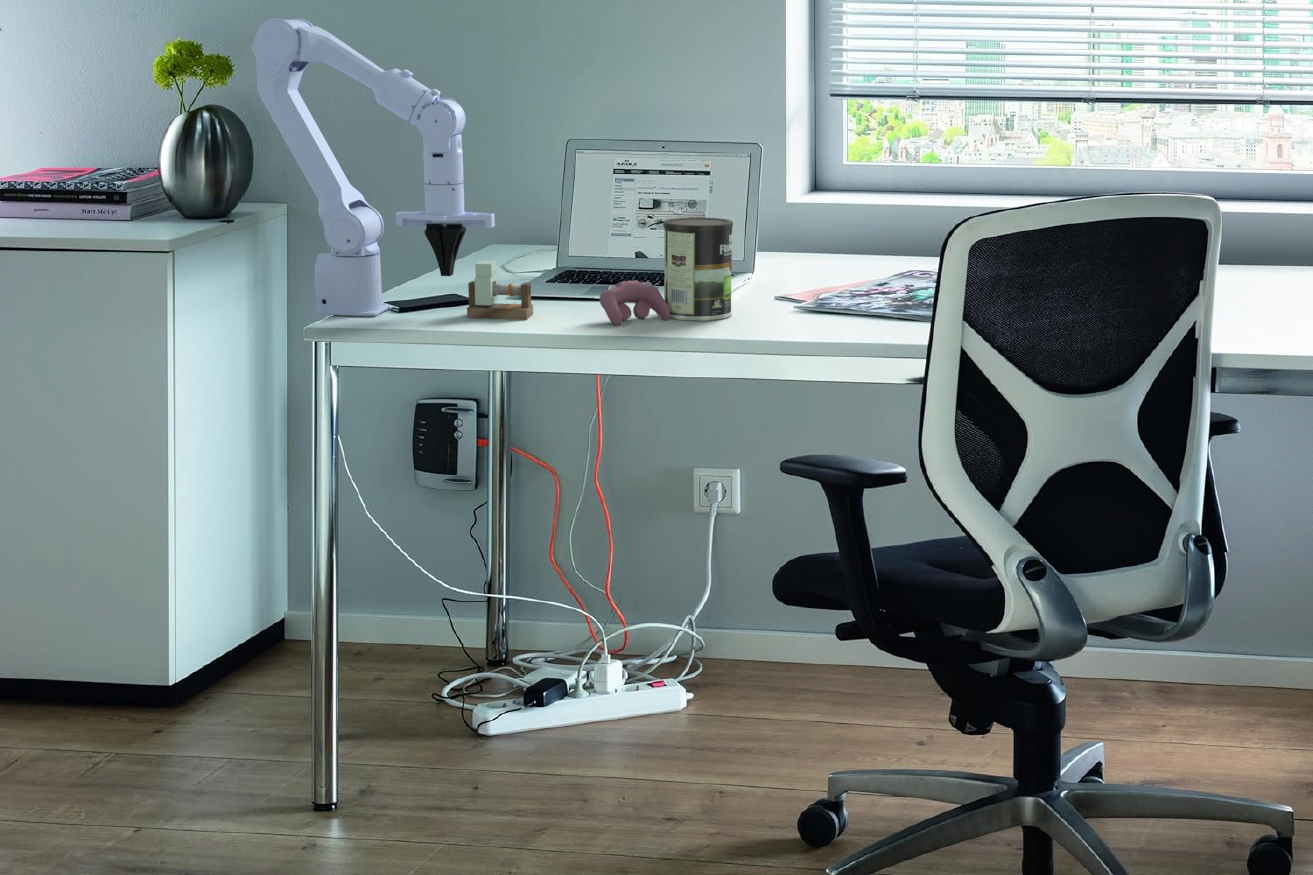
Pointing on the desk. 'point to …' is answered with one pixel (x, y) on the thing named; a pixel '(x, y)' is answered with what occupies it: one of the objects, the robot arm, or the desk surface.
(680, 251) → the coffee can
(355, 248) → the robot arm
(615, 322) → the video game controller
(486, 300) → the mint green stepped block
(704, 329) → the desk surface
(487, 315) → the rod stand
